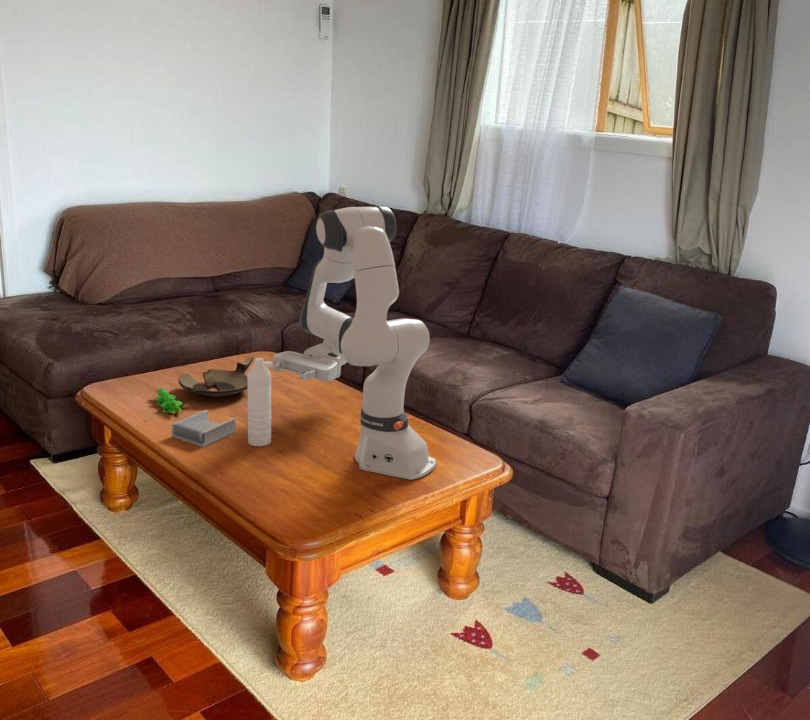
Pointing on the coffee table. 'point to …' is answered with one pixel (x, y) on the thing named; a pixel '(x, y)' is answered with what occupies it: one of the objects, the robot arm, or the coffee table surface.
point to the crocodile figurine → (168, 401)
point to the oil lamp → (219, 381)
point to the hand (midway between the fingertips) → (288, 373)
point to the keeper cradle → (201, 429)
